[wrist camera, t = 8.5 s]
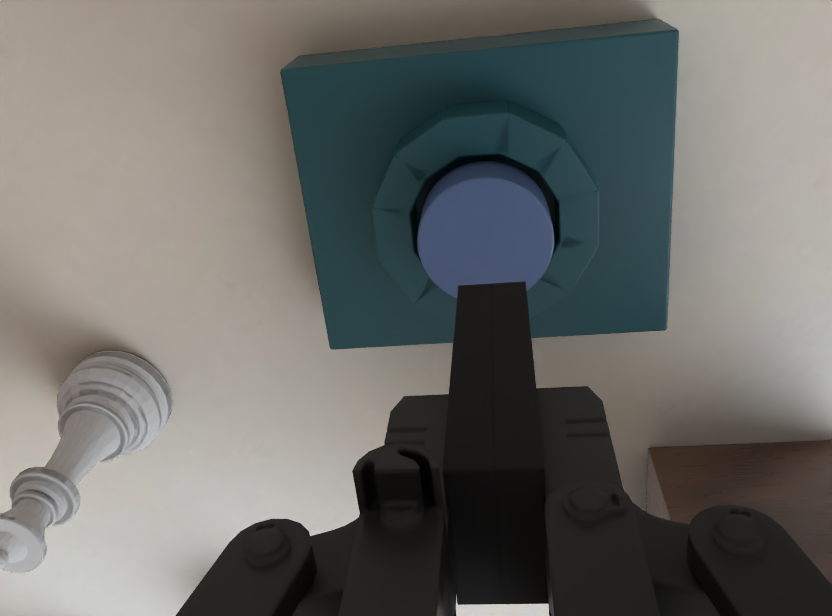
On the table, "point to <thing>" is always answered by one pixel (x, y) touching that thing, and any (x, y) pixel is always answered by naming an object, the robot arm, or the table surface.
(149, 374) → the chess piece
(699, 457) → the pedestal
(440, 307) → the push button block
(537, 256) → the blue push button
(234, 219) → the table surface
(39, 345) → the table surface
